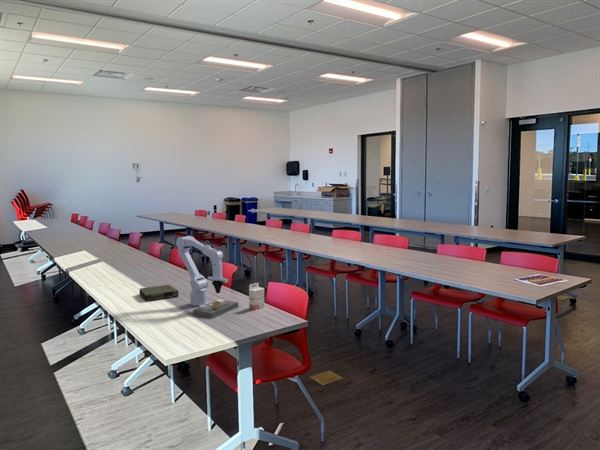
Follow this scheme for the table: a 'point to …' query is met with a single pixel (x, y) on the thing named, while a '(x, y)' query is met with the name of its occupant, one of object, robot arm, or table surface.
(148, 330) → the table surface
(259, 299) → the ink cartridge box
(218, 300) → the ivory button
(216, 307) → the brass slider
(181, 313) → the table surface
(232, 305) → the control panel
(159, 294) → the network switch
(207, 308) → the grey button
